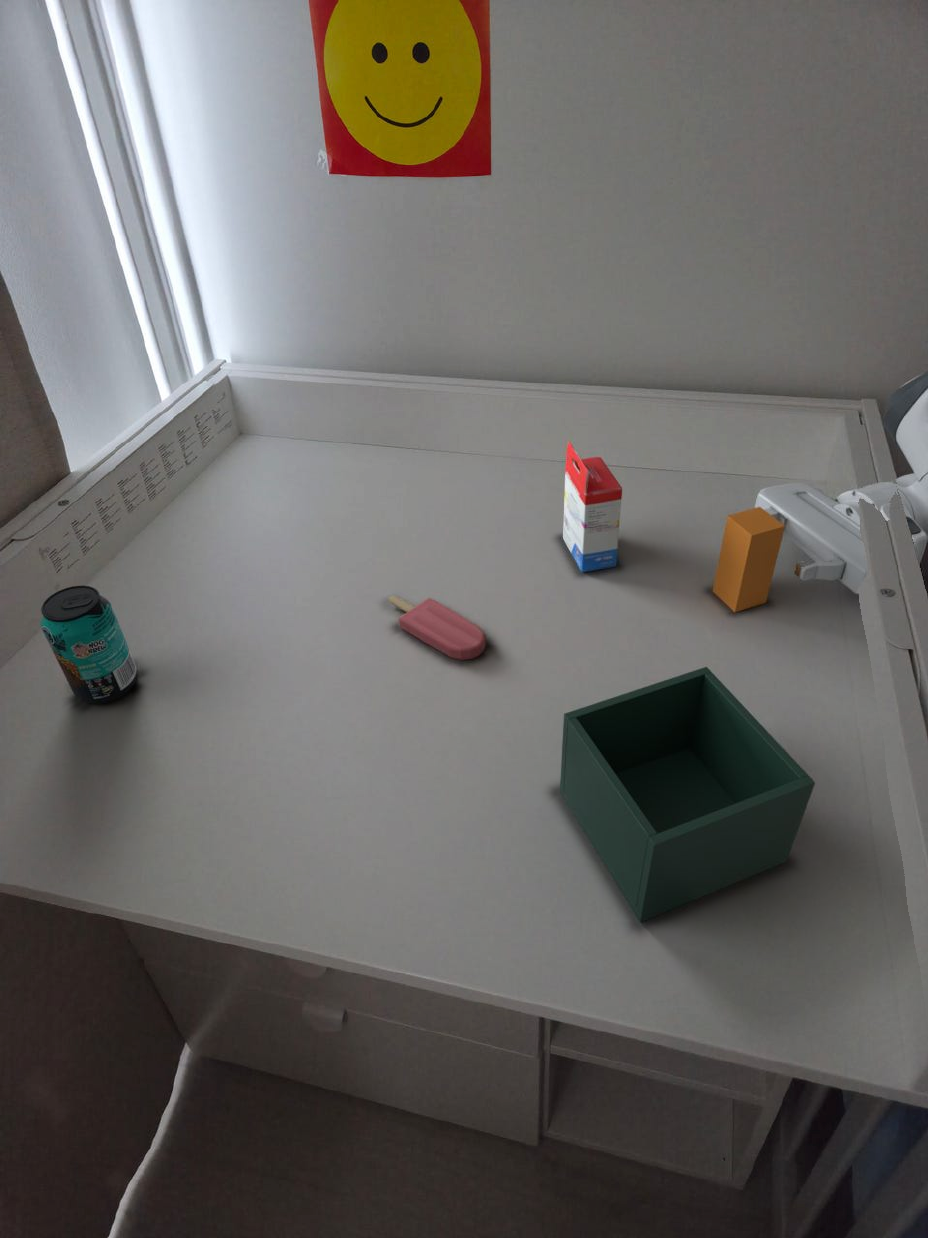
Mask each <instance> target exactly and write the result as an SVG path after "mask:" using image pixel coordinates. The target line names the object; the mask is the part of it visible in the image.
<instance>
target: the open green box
mask: <svg viewBox="0 0 928 1238" xmlns="http://www.w3.org/2000/svg"><path fill="white" fill-rule="evenodd" d="M562 725H563V726H562V745H561V763H560V780H559V781H560V783H559V793H560V795H561V796H562V798H563V800H564V801H565V804H567V806H568V807H569V810H570V811H571V813H572V814H573V816H574V818H575V819H576V821H577V823H578V825H580V827H581V829H582V831H583V832H584V834H585V835H586V837H587V839H588V840H589V842H590V844H591V845H592V847H593V848H594V850H595V851H596V854H597V855H598V856H599V858H600V860H601V862H602V863H603V865H604V866H605V868H606V869H607V871H608V873H609V874H610V876H611V877H612V879H613V881H614V883H615V885H616V886H617V887H618V889H619V891H620V892H621V894H622V895H623V897H624V899H625V901H626V902H627V903H628V905H629V906H630V908H631V910H632V911H633V913H634V915H635V916H636V918H637V920H638V921H639V923H642V922H645V921H647V920H649V919H652V918H654V917H658V916H659V915H662V914H664V913H667V912H669V911H671V910H673V909H676V908H679V907H680V906H683V905H686V904H688V903H690V902H692V901H693V902H694V901H695V900H698V899H700V898H702V897H704V896H707V895H710V894H712V893H714V892H717V891H719V890H721V889H724V888H727V887H729V886H731V885H734V884H736V883H738V882H740V881H744V880H746V879H748V878H751V877H753V876H756V875H758V874H760V873H762V872H765V871H767V870H769V869H773V868H774V867H777V866H780V865H782V864H784V863H786V862H787V861H788V859H789V856H790V853H791V850H792V848H793V845H794V842H795V840H796V836H797V833H798V831H799V828H800V825H801V823H802V820H803V817H804V815H805V812H806V810H807V806H808V804H809V801H810V798H811V796H812V793H813V791H814V787H815V785H816V781H814V779H813V778H812V777H811V776H810V775H809V774H808V773H807V772H806V771H805V770H804V769H803V768H802V767H801V765H800V764H799V763H798V762H797V761H796V760H795V759H794V758H793V757H792V756H791V755H790V754H789V753H788V752H787V751H786V750H785V748H784V747H783V746H782V745H781V744H780V743H779V742H778V741H777V740H776V739H775V737H773V736H772V735H771V734H770V732H769V731H768V730H767V729H766V728H765V727H764V726H763V725H762V724H761V723H760V722H759V721H758V720H757V719H756V718H755V717H754V715H752V713H751V712H750V711H749V710H748V709H747V708H746V707H745V705H744V704H743V703H741V702H740V701H739V699H737V697H736V696H735V695H734V694H733V693H732V692H731V691H730V690H729V688H727V687H726V686H725V684H724V683H723V682H722V681H721V680H720V679H719V678H718V677H717V676H716V675H715V674H714V673H713V672H712V670H710V669H709V667H708V666H704V667H701V668H698V669H695V670H692V671H689V672H686V673H683V674H680V675H677V676H674V677H670V678H668V679H665V680H662V681H659V682H655V683H653V684H650V685H647V686H644V687H640V688H637V689H634V690H631V691H629V692H628V691H627V692H625V693H623V694H619V695H617V696H613V697H611V698H607V699H605V700H601V701H599V702H596V703H592V704H589V705H586V706H583V707H580V708H577V709H575V710H571V711H568V712H566V713H563V724H562Z"/></svg>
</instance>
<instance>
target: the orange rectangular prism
mask: <svg viewBox="0 0 928 1238" xmlns="http://www.w3.org/2000/svg"><path fill="white" fill-rule="evenodd" d="M724 526H725V527H724V531H723V537H722V541H721V547H720V552H719V557H718V561H717V567H716V571H715V572H716V573H715V577H714V582H713V588H712V593H714V594H715V595H716V596H717V597H718V598H719V599H720V600H721V601H722V602H723V603H724V604H725V605H726V606H727V607H729V609H731V611H733V612H734V613H737V612H742V611H743V610H746V609H747V610H748V609H751V608H754V607H756V606H759V605H763V604H766V603H767V600H768V595H769V593H770V589H771V584H772V580H773V576H774V573H775V568H776V564H777V560H778V556H779V552H780V548H781V544H782V540H783V533H784V529H785V526H784V525H783V524H782V523H781V522H779V521H778V520H777V519H775V518H774V517H773V516H771V515H770V514H769V513H767V512H766V511H765V510H763V509H762V508H761V507H757V508H755V507H754V508H751V509H747V510H743V511H739V512H736V513H733V514H730V515H727V516H726V521H725V525H724Z"/></svg>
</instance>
